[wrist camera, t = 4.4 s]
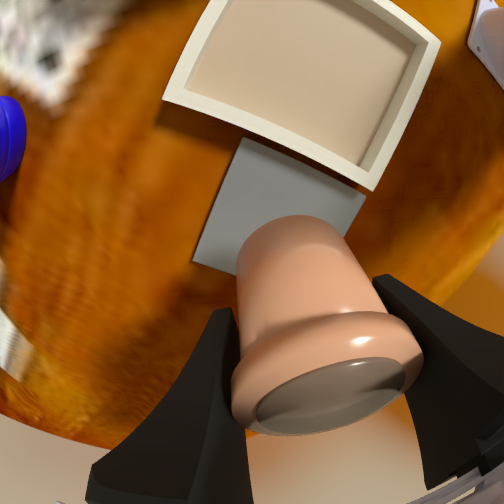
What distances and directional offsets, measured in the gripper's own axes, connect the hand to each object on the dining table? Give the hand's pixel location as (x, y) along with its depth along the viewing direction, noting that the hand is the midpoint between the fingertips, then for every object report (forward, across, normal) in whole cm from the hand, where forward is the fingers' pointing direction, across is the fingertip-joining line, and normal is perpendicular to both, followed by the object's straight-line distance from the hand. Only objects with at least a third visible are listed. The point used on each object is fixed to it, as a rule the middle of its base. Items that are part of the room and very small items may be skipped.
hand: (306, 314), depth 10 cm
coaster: (+8, 0, 0) cm, 8 cm away
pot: (+2, 0, -1) cm, 2 cm away
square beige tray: (+8, -4, -10) cm, 13 cm away
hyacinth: (+8, +17, -11) cm, 22 cm away
